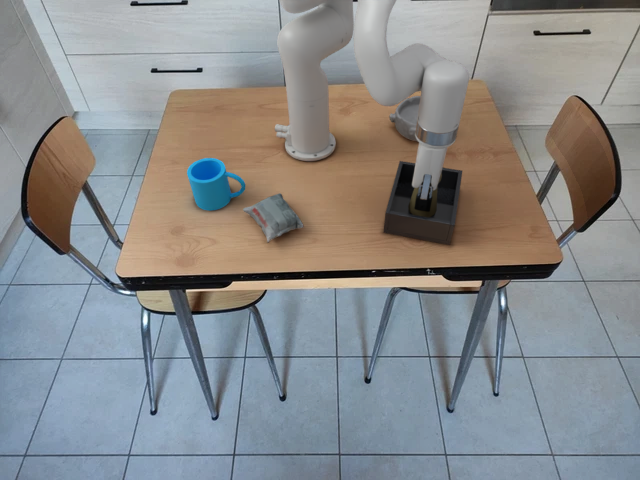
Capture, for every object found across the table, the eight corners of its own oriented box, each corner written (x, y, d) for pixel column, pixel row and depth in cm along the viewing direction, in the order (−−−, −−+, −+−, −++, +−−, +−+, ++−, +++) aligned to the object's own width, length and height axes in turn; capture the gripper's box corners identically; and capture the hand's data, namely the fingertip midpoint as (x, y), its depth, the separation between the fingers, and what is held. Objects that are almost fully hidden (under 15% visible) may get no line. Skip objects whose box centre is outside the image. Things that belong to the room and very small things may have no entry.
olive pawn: (436, 219, 103) (444, 180, 94) (407, 215, 104) (413, 176, 95) (437, 199, 106) (445, 160, 98) (409, 196, 107) (415, 157, 99)
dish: (430, 106, 132) (433, 90, 128) (457, 135, 123) (461, 118, 119) (381, 119, 128) (383, 102, 125) (406, 149, 120) (408, 132, 116)
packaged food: (268, 250, 100) (266, 233, 96) (243, 215, 106) (240, 198, 103) (305, 233, 102) (304, 217, 99) (279, 200, 109) (277, 183, 106)
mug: (191, 210, 108) (182, 182, 102) (199, 185, 113) (191, 157, 107) (245, 211, 107) (239, 183, 101) (250, 186, 113) (245, 158, 106)
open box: (383, 232, 102) (385, 212, 97) (397, 181, 112) (399, 160, 108) (449, 245, 99) (454, 225, 95) (457, 191, 110) (462, 170, 105)
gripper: (422, 101, 96) (412, 172, 110) (409, 154, 85) (399, 226, 99) (461, 106, 94) (446, 178, 108) (452, 161, 84) (436, 233, 97)
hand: (423, 200), depth 103 cm, fingers open, 4 cm apart
